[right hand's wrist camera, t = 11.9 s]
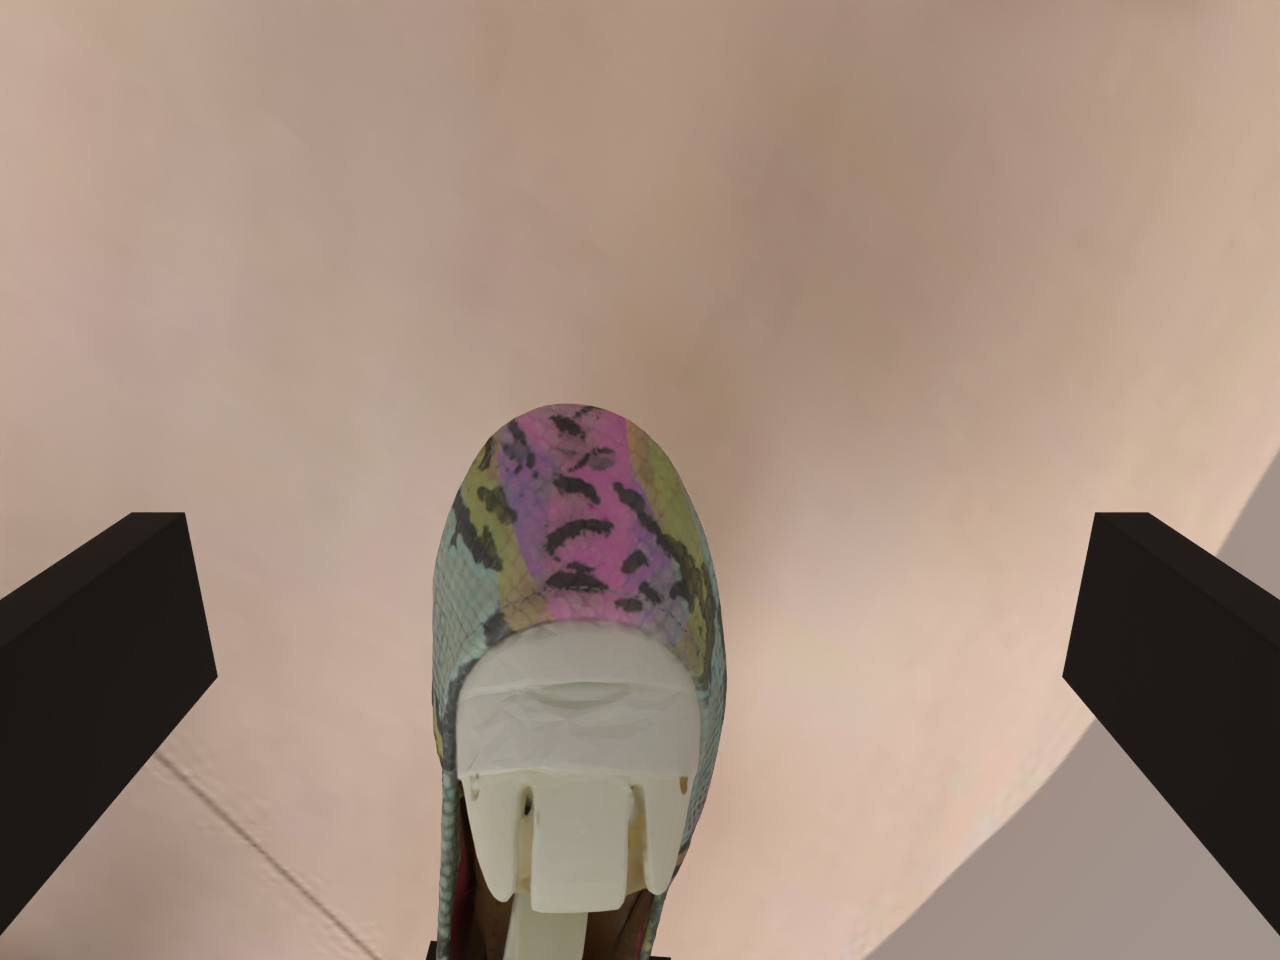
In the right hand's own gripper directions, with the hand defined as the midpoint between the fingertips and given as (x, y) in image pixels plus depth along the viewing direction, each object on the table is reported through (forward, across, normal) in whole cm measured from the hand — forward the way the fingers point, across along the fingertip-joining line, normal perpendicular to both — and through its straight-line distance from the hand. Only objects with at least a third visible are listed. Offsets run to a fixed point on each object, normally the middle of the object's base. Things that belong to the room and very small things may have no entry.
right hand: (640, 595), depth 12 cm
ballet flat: (+11, -2, -12) cm, 16 cm away
